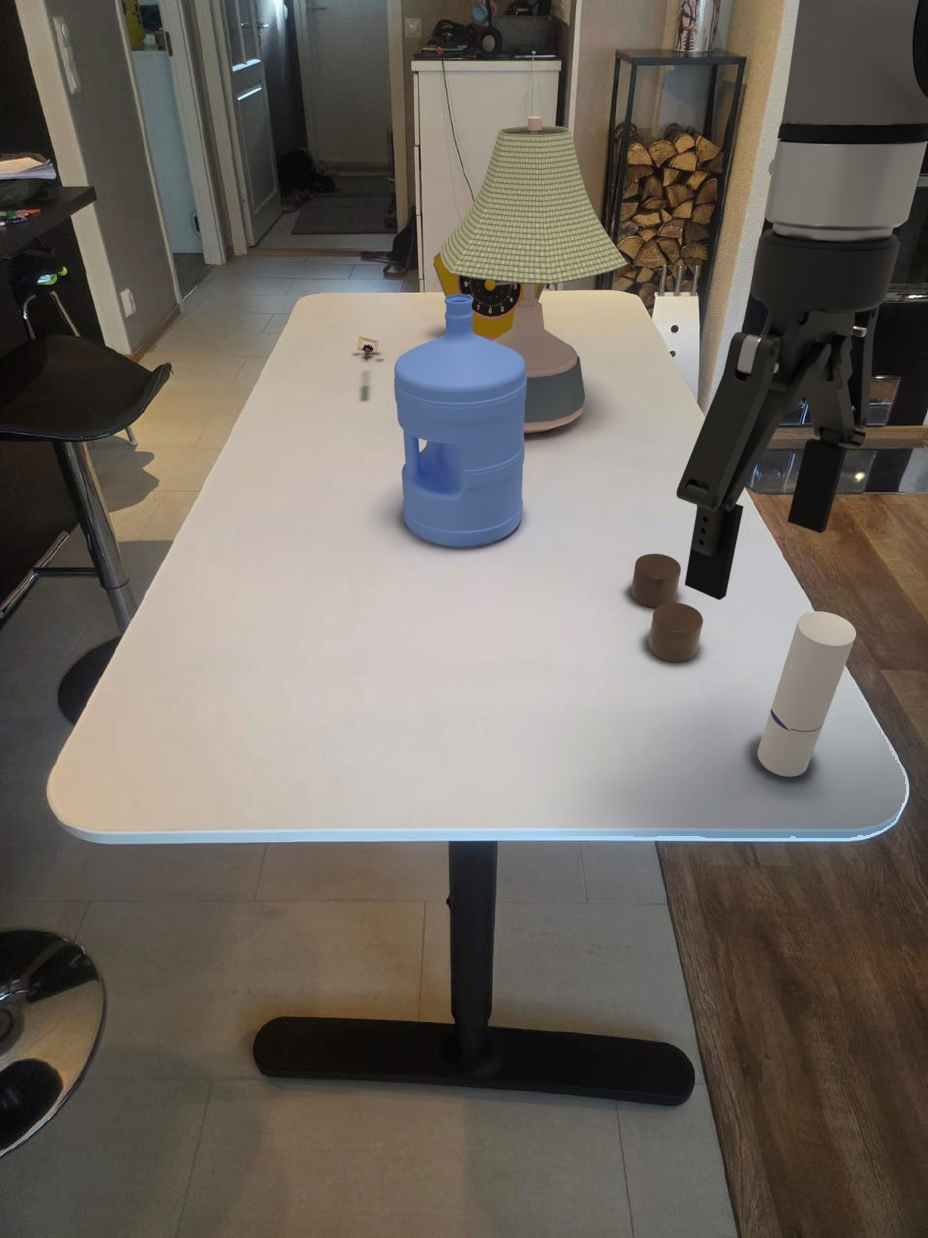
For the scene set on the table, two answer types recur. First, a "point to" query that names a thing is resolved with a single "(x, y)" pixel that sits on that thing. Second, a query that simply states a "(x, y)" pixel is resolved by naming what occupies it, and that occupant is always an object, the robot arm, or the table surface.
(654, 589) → the brown short cylinder
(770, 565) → the table surface
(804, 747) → the tube
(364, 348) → the framed picture
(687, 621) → the disc
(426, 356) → the water jug
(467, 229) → the desk lamp
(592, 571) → the table surface
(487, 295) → the yellow clock
